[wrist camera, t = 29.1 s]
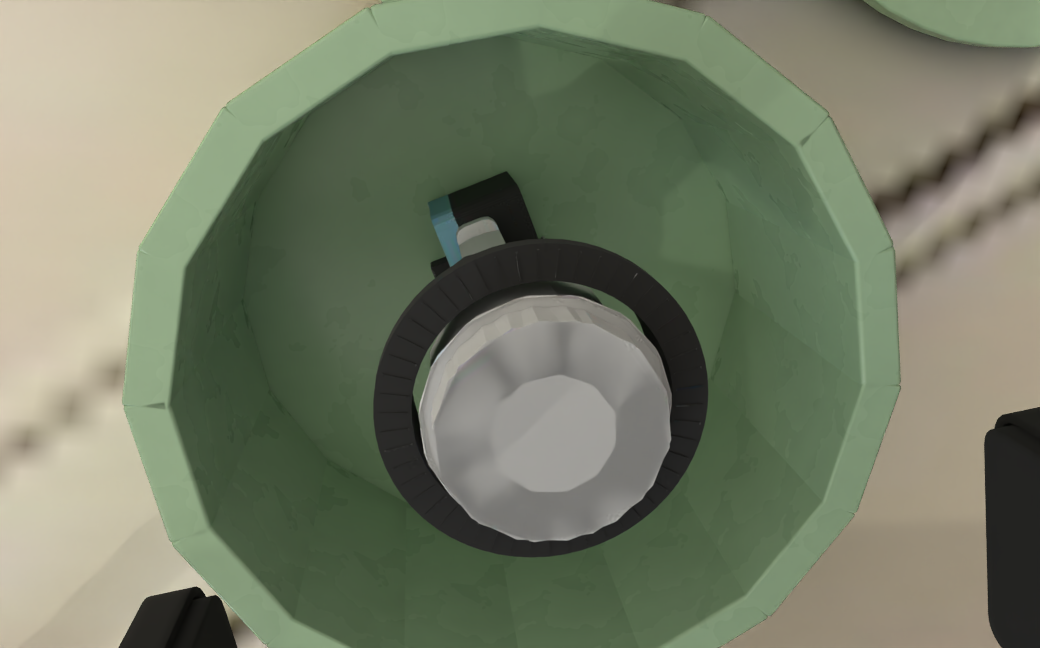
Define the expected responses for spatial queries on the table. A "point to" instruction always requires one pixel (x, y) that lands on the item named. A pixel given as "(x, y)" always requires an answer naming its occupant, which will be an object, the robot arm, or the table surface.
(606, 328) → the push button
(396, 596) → the green cooking pot
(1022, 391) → the table surface
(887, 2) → the green pot lid
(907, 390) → the table surface
